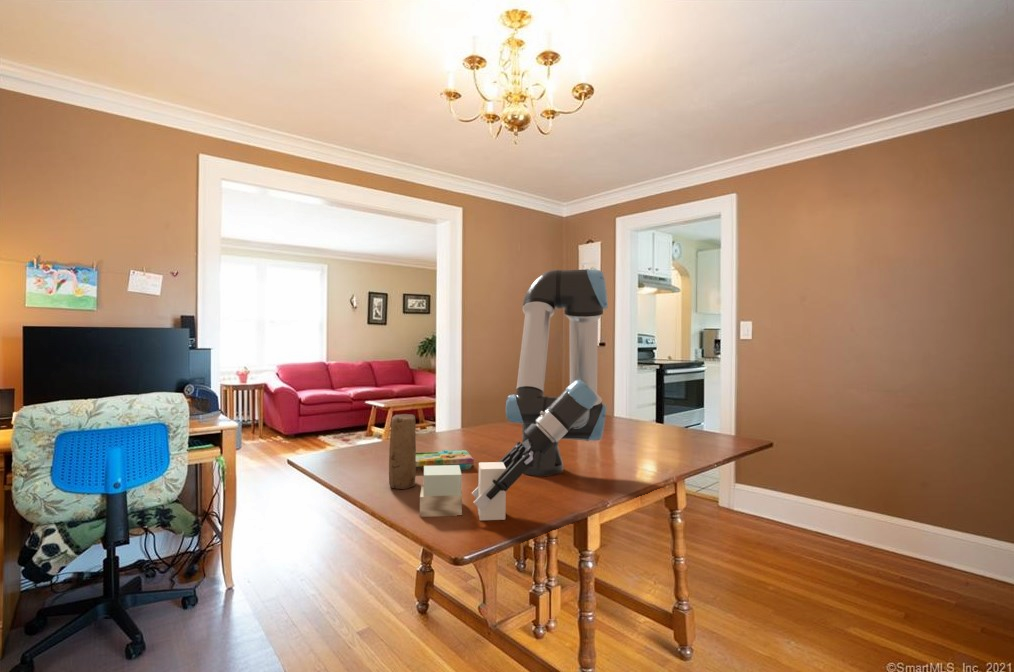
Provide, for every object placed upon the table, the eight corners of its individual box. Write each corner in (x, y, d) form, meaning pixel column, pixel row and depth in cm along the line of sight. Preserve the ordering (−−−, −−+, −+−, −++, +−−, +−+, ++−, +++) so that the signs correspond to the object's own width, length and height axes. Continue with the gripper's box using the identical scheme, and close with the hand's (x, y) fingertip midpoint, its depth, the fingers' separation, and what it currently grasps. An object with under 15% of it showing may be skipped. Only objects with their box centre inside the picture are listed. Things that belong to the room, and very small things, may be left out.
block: (415, 489, 138) (416, 418, 138) (387, 491, 137) (389, 418, 137) (415, 478, 149) (416, 412, 149) (389, 479, 148) (390, 412, 148)
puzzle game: (473, 456, 160) (410, 459, 155) (473, 470, 160) (410, 474, 155) (467, 448, 172) (408, 450, 166) (466, 461, 172) (407, 464, 166)
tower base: (460, 503, 129) (460, 483, 129) (461, 516, 119) (462, 496, 119) (421, 504, 128) (421, 484, 128) (419, 518, 118) (419, 497, 118)
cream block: (502, 510, 123) (502, 462, 123) (505, 519, 117) (506, 468, 117) (477, 511, 122) (478, 462, 122) (479, 520, 116) (480, 469, 116)
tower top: (458, 484, 129) (459, 465, 129) (461, 495, 120) (461, 474, 120) (423, 485, 127) (424, 465, 127) (423, 496, 118) (423, 475, 118)
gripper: (527, 415, 130) (463, 479, 128) (542, 429, 111) (467, 504, 109) (546, 435, 131) (483, 499, 129) (564, 452, 112) (491, 527, 110)
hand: (476, 501), depth 119 cm, fingers closed on cream block, 6 cm apart
